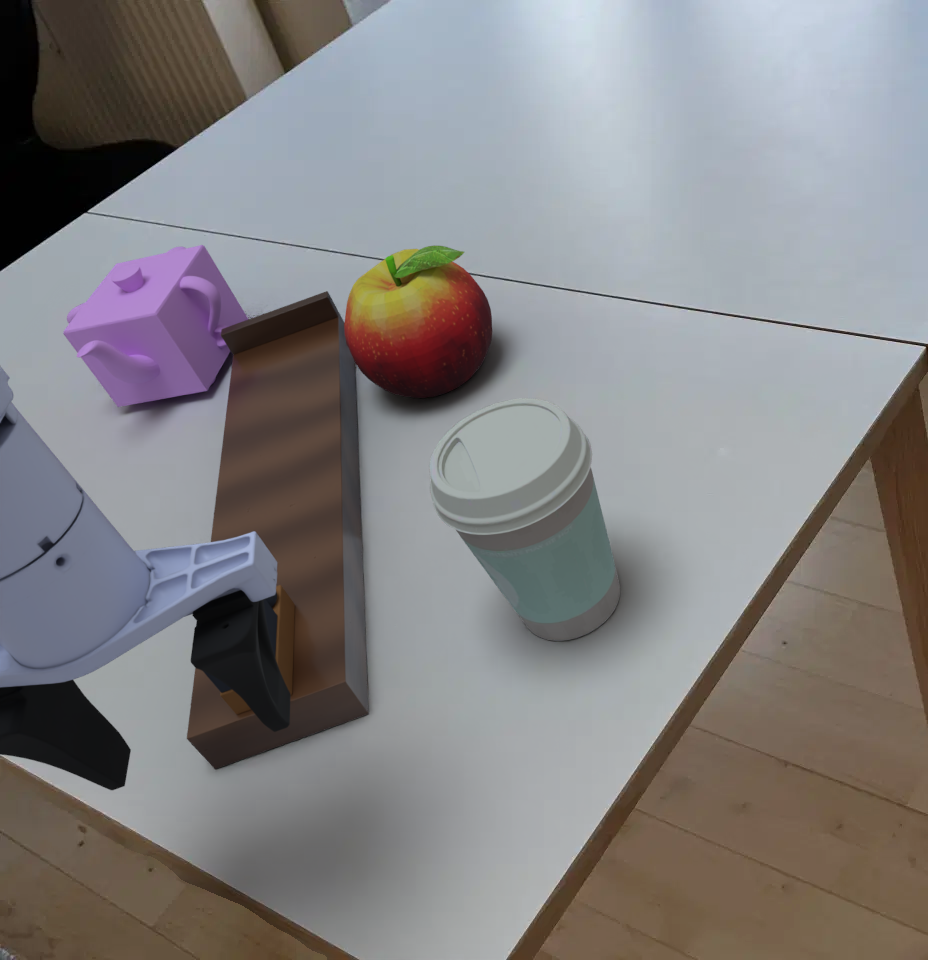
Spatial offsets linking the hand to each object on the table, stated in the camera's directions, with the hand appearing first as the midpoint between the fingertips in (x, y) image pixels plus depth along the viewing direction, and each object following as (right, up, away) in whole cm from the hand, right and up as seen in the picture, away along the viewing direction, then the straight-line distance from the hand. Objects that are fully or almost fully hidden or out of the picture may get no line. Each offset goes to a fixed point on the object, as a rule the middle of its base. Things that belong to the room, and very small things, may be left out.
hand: (201, 741), depth 49 cm
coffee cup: (+16, +5, +14) cm, 21 cm away
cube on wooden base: (-1, +2, +12) cm, 13 cm away
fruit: (+5, +20, +35) cm, 40 cm away
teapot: (-20, +20, +45) cm, 53 cm away
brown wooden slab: (-4, +9, +27) cm, 28 cm away
